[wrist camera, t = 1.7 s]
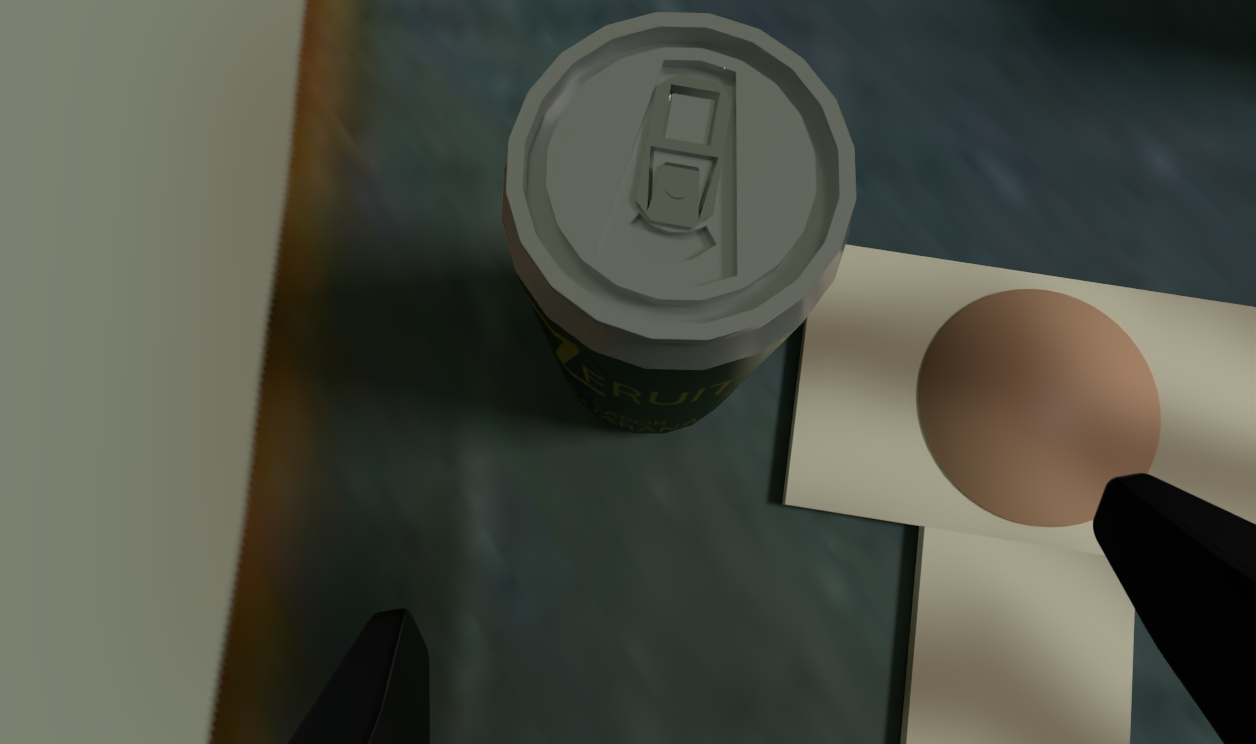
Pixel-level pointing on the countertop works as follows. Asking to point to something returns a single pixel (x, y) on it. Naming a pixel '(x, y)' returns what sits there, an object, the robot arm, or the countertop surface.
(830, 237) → the beer can
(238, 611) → the countertop surface
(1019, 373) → the t plate
